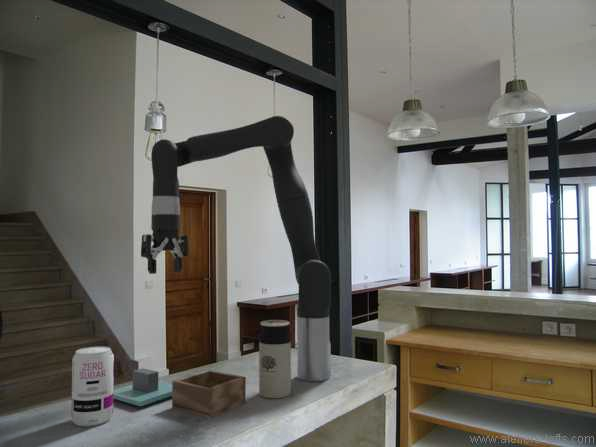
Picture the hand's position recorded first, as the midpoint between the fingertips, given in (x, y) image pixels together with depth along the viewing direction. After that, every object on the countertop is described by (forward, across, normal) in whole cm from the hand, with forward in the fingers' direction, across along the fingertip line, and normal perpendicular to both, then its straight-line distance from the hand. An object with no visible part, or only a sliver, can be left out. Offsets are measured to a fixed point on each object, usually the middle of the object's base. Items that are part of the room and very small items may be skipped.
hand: (165, 272), depth 128 cm
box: (+30, +5, +22) cm, 38 cm away
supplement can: (+30, +26, +8) cm, 41 cm away
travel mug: (+30, -10, +30) cm, 44 cm away
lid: (+30, +10, +5) cm, 32 cm away
